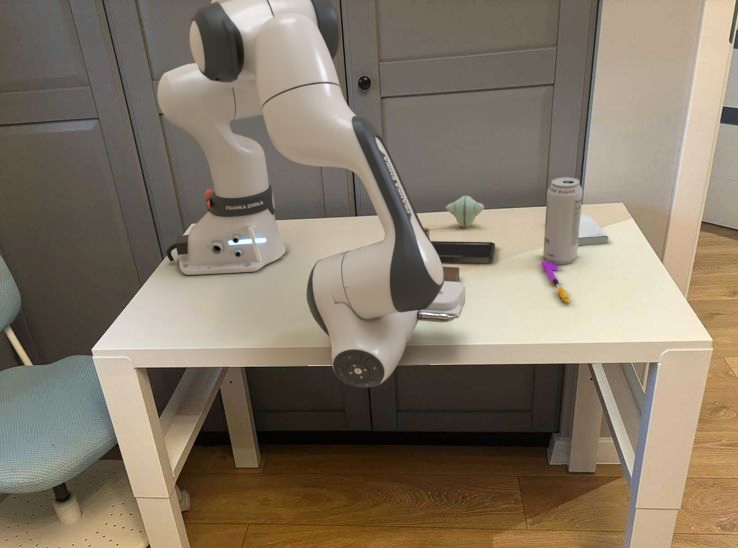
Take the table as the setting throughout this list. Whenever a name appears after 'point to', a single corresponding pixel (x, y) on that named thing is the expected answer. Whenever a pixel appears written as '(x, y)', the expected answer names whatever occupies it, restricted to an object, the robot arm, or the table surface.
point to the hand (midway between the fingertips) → (409, 275)
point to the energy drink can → (562, 220)
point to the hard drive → (590, 231)
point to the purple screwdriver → (554, 278)
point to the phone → (465, 251)
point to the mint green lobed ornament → (465, 210)
